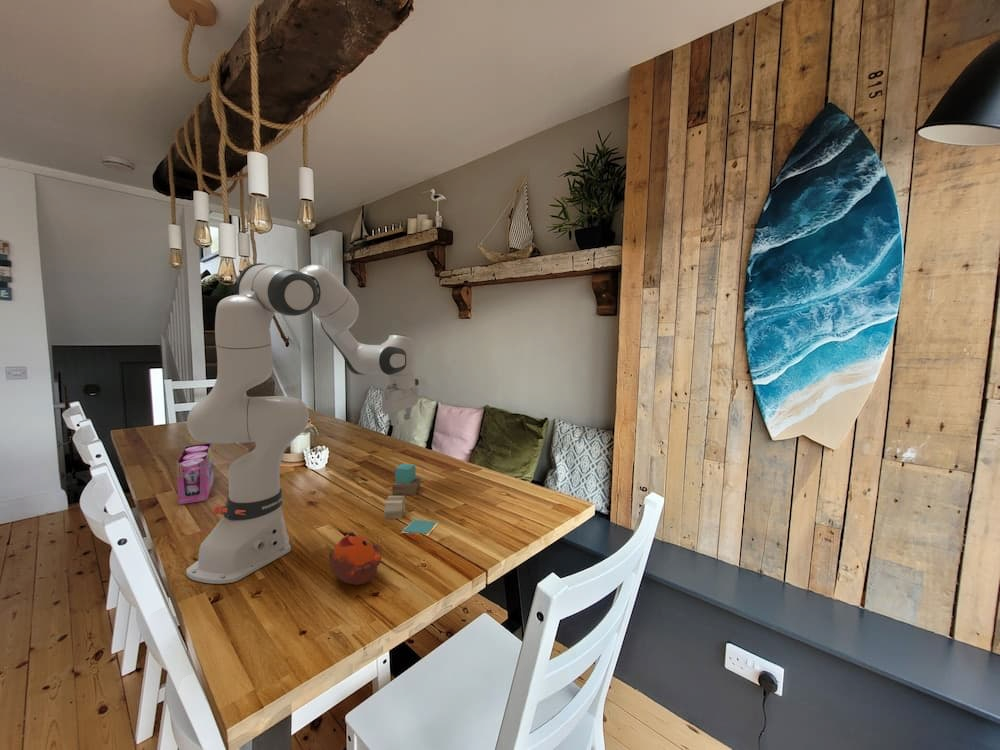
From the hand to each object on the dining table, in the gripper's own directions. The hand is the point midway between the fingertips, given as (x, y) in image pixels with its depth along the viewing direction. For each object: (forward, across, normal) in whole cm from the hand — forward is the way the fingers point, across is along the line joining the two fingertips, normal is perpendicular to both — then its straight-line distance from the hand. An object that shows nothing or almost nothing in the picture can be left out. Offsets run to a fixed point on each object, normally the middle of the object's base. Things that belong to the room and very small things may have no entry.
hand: (401, 422), depth 141 cm
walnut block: (+25, +1, -2) cm, 25 cm away
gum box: (+24, -19, +67) cm, 74 cm away
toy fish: (+25, -49, -14) cm, 57 cm away
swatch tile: (+25, -23, -18) cm, 38 cm away
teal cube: (+21, 0, -1) cm, 21 cm away
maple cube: (+25, -18, -6) cm, 31 cm away
